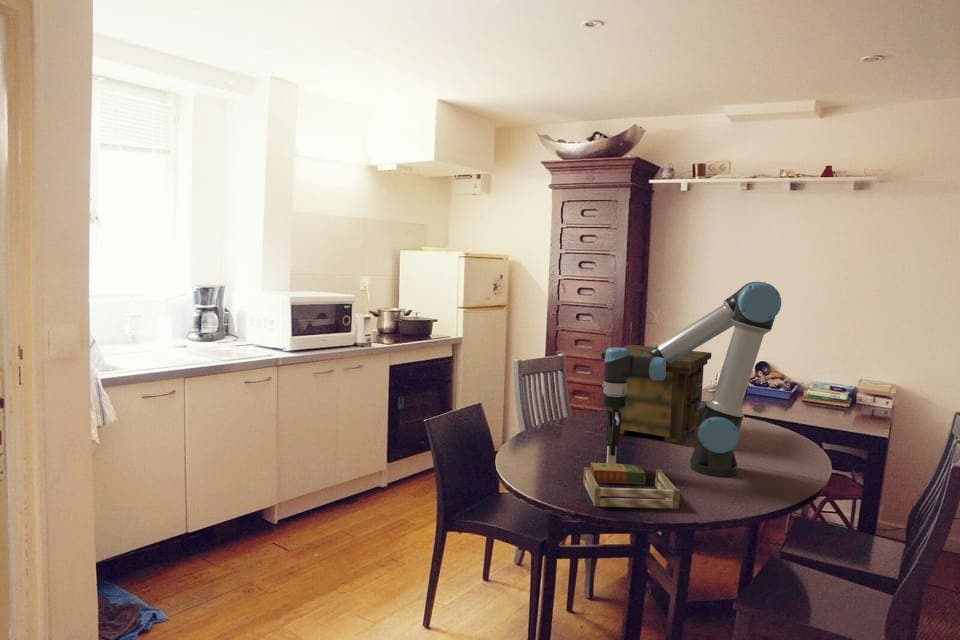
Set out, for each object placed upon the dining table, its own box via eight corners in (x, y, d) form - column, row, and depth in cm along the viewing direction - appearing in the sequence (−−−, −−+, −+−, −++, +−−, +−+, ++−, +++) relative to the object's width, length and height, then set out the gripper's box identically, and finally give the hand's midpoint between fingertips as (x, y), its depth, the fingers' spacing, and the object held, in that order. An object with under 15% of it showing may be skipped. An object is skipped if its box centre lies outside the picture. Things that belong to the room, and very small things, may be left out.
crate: (626, 416, 286) (629, 344, 283) (706, 429, 268) (711, 352, 265) (597, 433, 257) (601, 352, 254) (685, 448, 238) (691, 362, 235)
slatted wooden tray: (660, 486, 196) (661, 469, 196) (678, 508, 178) (680, 490, 178) (583, 483, 196) (584, 467, 196) (594, 506, 178) (595, 488, 177)
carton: (589, 474, 206) (590, 461, 206) (639, 476, 206) (639, 463, 206) (593, 483, 198) (594, 469, 198) (645, 485, 198) (646, 471, 197)
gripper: (599, 390, 216) (596, 457, 218) (607, 398, 203) (603, 470, 206) (621, 390, 216) (618, 458, 219) (630, 399, 203) (626, 470, 206)
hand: (611, 464), depth 212 cm, fingers closed
